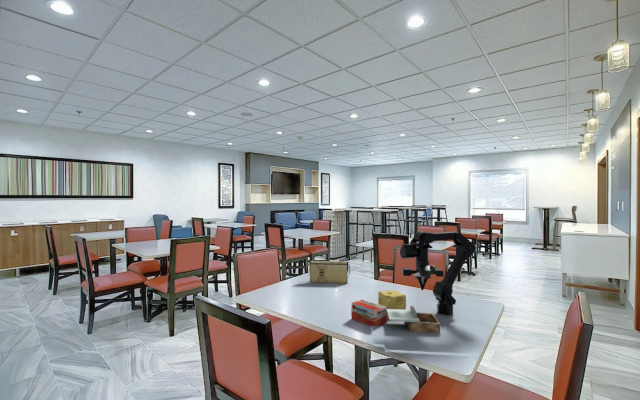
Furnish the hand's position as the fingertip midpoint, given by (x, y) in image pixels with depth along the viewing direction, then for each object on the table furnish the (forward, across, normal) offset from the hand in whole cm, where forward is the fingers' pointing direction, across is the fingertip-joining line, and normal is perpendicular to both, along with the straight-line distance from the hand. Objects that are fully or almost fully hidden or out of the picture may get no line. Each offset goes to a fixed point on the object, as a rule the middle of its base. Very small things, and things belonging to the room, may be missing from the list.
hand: (422, 289), depth 147 cm
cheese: (+13, -14, +4) cm, 20 cm away
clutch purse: (+13, -50, +59) cm, 78 cm away
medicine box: (+13, -26, -8) cm, 30 cm away
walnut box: (+13, -3, -14) cm, 19 cm away
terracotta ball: (+12, -5, -12) cm, 18 cm away
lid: (+8, -12, -14) cm, 20 cm away
